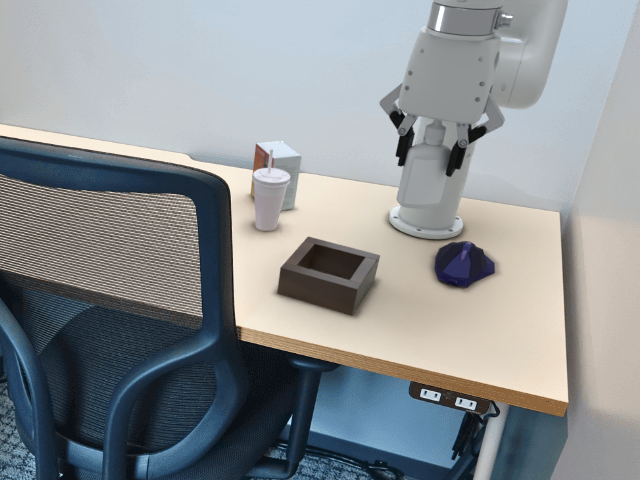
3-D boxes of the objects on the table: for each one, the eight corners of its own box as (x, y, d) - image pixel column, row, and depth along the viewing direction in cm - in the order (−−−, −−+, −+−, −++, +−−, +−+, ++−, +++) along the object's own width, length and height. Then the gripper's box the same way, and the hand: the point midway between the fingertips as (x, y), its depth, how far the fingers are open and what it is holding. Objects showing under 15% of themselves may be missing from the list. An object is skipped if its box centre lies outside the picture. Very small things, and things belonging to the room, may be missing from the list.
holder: (304, 260, 113) (307, 236, 110) (374, 280, 108) (380, 254, 105) (276, 293, 104) (280, 267, 102) (352, 315, 100) (357, 289, 97)
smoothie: (260, 214, 126) (268, 140, 118) (290, 225, 123) (301, 149, 115) (240, 227, 122) (247, 150, 114) (271, 238, 119) (281, 160, 111)
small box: (249, 195, 133) (254, 142, 127) (276, 191, 135) (282, 139, 129) (267, 212, 127) (273, 158, 121) (294, 209, 129) (302, 154, 123)
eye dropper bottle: (437, 214, 91) (461, 124, 84) (393, 206, 93) (413, 118, 86) (440, 201, 94) (463, 114, 87) (398, 194, 96) (417, 107, 89)
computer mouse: (501, 256, 115) (508, 235, 112) (485, 297, 104) (493, 274, 102) (443, 242, 118) (449, 221, 116) (422, 280, 108) (428, 258, 106)
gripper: (547, 23, 79) (500, 172, 90) (397, 6, 86) (370, 146, 97) (538, 36, 74) (490, 193, 84) (380, 17, 81) (353, 163, 91)
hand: (426, 166), depth 90 cm, fingers closed on eye dropper bottle, 5 cm apart
